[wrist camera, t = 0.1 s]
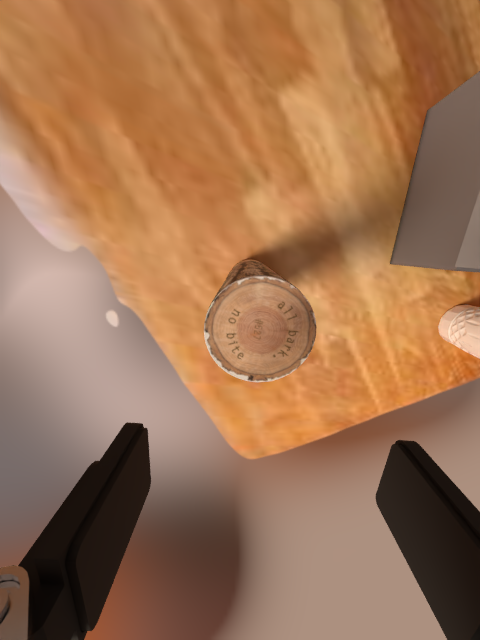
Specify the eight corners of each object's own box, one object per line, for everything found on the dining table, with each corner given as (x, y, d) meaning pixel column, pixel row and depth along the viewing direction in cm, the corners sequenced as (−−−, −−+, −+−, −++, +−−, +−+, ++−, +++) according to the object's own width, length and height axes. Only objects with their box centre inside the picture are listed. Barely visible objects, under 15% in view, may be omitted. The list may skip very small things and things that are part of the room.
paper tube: (273, 261, 37) (328, 284, 13) (266, 303, 39) (303, 388, 15) (231, 256, 37) (208, 268, 13) (226, 297, 39) (199, 375, 15)
